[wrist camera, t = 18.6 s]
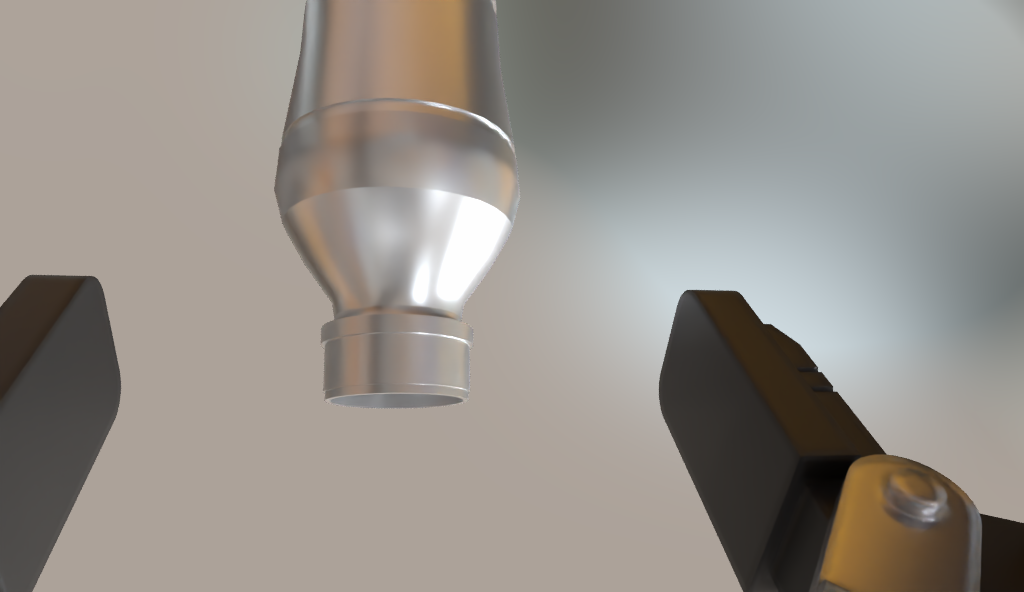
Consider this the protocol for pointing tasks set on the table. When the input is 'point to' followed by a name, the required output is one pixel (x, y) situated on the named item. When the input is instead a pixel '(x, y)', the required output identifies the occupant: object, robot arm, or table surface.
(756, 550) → the robot arm
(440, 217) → the silver metal bottle
